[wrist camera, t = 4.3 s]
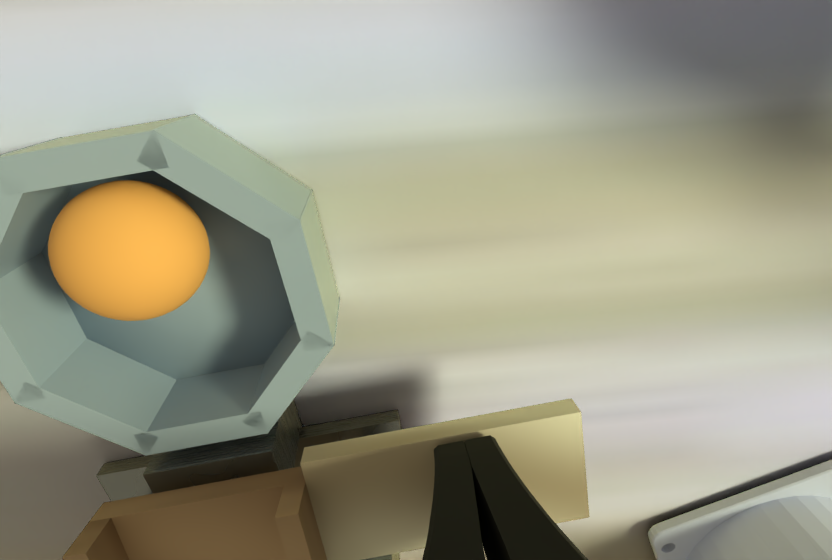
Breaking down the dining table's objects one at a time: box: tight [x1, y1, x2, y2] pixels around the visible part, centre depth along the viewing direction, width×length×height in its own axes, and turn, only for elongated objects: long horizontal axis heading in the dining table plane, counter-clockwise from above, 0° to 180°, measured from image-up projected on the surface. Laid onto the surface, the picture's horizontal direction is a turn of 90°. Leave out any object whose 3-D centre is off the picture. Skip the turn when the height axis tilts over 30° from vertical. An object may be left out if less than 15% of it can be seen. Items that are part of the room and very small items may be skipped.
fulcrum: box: [97, 400, 402, 560], centre depth 14 cm, size 7×9×5 cm
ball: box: [48, 180, 210, 321], centre depth 11 cm, size 3×3×3 cm
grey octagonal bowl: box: [0, 114, 340, 456], centre depth 12 cm, size 7×7×2 cm
